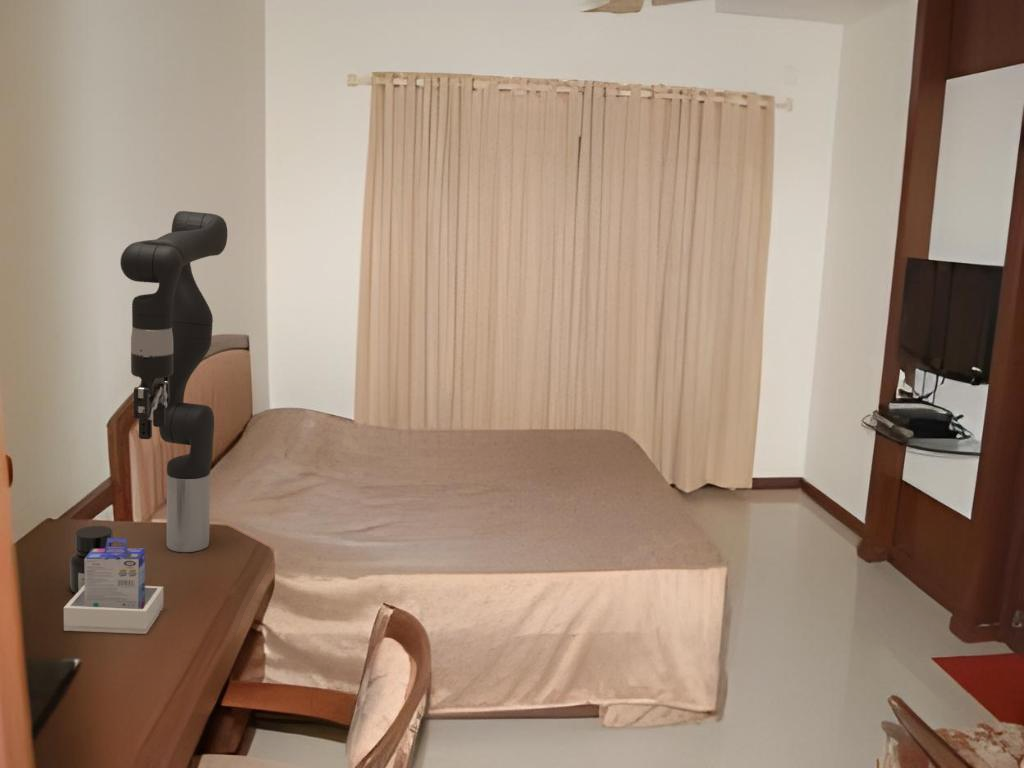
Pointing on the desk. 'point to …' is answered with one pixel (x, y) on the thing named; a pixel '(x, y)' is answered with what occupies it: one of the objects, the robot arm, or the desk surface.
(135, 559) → the ink cartridge box
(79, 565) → the ink bottle
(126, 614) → the tray
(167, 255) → the robot arm
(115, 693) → the desk surface
